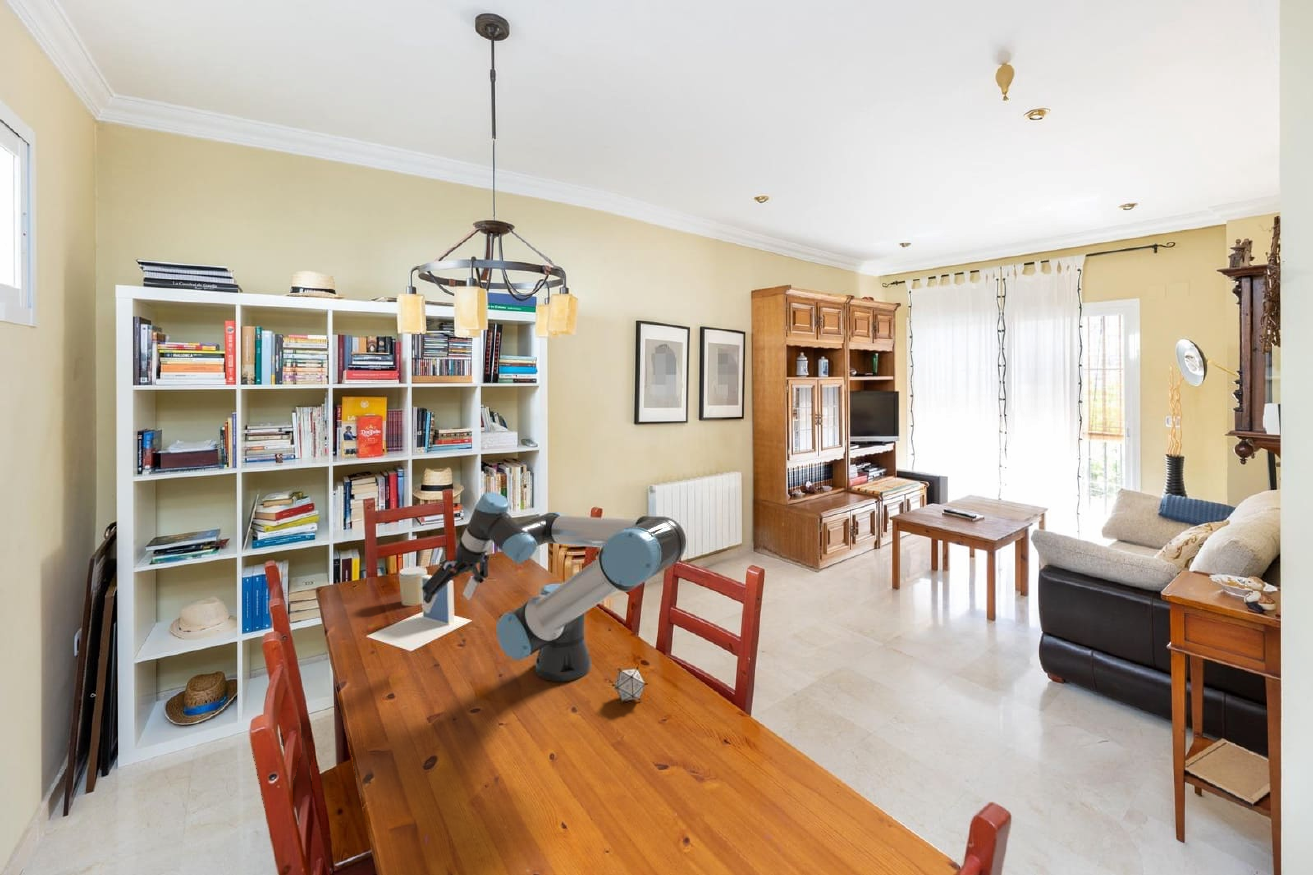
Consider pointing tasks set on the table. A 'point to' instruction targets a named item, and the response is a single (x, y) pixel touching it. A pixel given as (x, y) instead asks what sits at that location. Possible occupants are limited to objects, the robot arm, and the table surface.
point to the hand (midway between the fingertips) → (446, 603)
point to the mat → (416, 631)
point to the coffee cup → (411, 585)
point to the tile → (441, 603)
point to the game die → (629, 684)
